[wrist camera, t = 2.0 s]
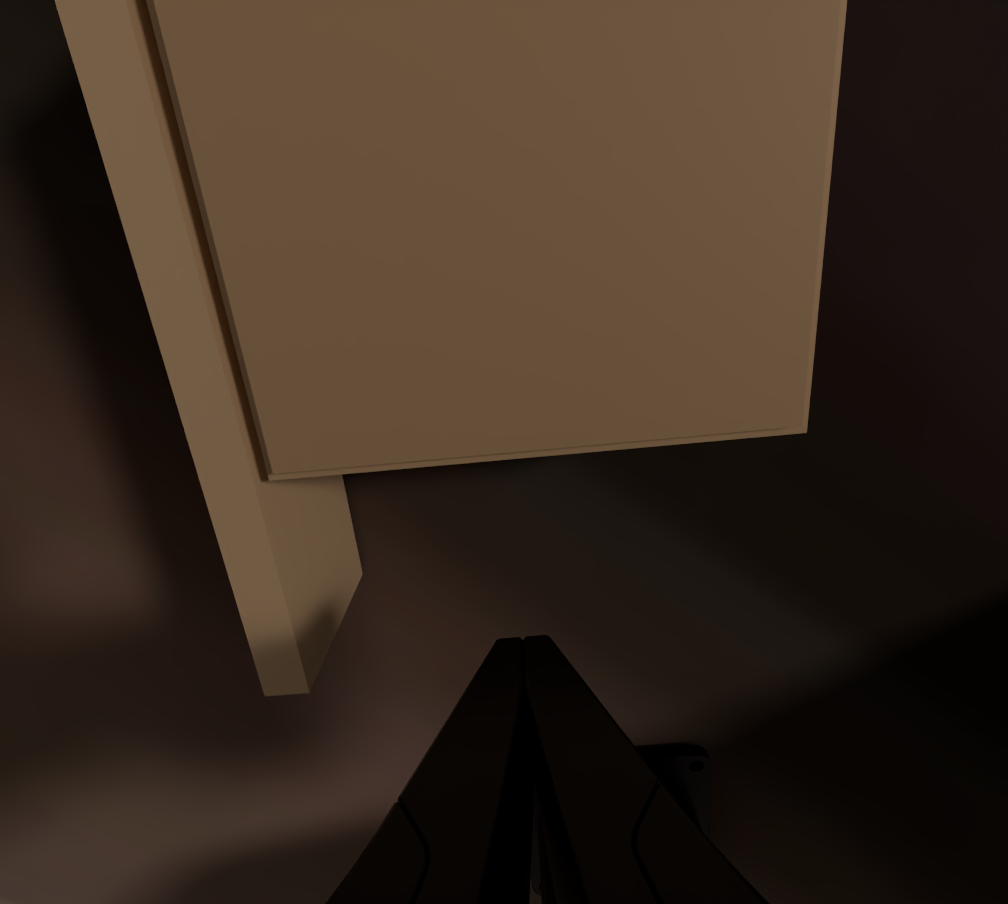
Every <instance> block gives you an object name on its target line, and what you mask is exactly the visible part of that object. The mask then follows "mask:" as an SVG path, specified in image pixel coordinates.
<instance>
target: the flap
mask: <svg viewBox="0 0 1008 904" xmlns="http://www.w3.org/2000/svg"><path fill="white" fill-rule="evenodd" d="M55 3H56V6H57V10H58V13H59V16H60V20H61V23H62V26H63V29H64V33H65V36H66V39H67V43H68V46H69V49H70V53H71V56H72V59H73V63H74V66H75V69H76V73H77V76H78V79H79V83H80V86H81V89H82V92H83V96H84V99H85V102H86V106H87V109H88V112H89V116H90V119H91V122H92V126H93V129H94V132H95V136H96V139H97V142H98V146H99V149H100V152H101V155H102V159H103V162H104V165H105V169H106V172H107V175H108V179H109V182H110V185H111V189H112V192H113V195H114V199H115V202H116V205H117V209H118V212H119V215H120V218H121V222H122V225H123V228H124V232H125V235H126V238H127V242H128V245H129V248H130V252H131V255H132V258H133V262H134V265H135V268H136V272H137V275H138V278H139V281H140V285H141V288H142V291H143V295H144V298H145V301H146V305H147V308H148V311H149V315H150V318H151V321H152V325H153V328H154V331H155V335H156V338H157V341H158V344H159V348H160V351H161V354H162V358H163V361H164V364H165V368H166V371H167V374H168V378H169V381H170V384H171V388H172V391H173V394H174V398H175V401H176V404H177V407H178V411H179V414H180V417H181V421H182V424H183V427H184V431H185V434H186V437H187V441H188V444H189V447H190V451H191V454H192V457H193V461H194V464H195V467H196V470H197V474H198V477H199V480H200V484H201V487H202V490H203V494H204V497H205V500H206V504H207V507H208V510H209V514H210V517H211V520H212V524H213V527H214V530H215V533H216V537H217V540H218V543H219V547H220V550H221V553H222V557H223V560H224V563H225V567H226V570H227V573H228V577H229V580H230V583H231V587H232V590H233V593H234V596H235V600H236V603H237V606H238V610H239V613H240V616H241V620H242V623H243V626H244V630H245V633H246V636H247V640H248V643H249V646H250V650H251V653H252V656H253V659H254V663H255V666H256V669H257V673H258V676H259V679H260V683H261V686H262V689H263V693H264V696H277V695H290V694H303V693H310V691H311V689H312V687H313V684H314V682H315V680H316V678H317V675H318V673H319V671H320V669H321V666H322V664H323V662H324V660H325V657H326V655H327V653H328V651H329V648H330V646H331V644H332V642H333V639H334V637H335V635H336V633H337V630H338V628H339V626H340V624H341V621H342V619H343V617H344V615H345V612H346V610H347V608H348V606H349V603H350V601H351V599H352V597H353V594H354V592H355V590H356V588H357V585H358V583H359V581H360V579H361V576H362V574H363V573H362V569H361V564H360V559H359V554H358V549H357V545H356V540H355V535H354V530H353V525H352V520H351V516H350V511H349V506H348V501H347V496H346V492H345V487H344V482H343V477H342V474H340V475H329V476H318V477H307V478H296V479H285V480H273V481H269V478H268V474H267V471H266V467H265V463H264V459H263V455H262V451H261V447H260V443H259V439H258V435H257V431H256V428H255V424H254V420H253V416H252V412H251V408H250V404H249V400H248V396H247V392H246V389H245V385H244V381H243V377H242V373H241V369H240V365H239V361H238V357H237V353H236V349H235V346H234V342H233V338H232V334H231V330H230V326H229V322H228V318H227V314H226V310H225V307H224V303H223V299H222V295H221V291H220V287H219V283H218V279H217V275H216V271H215V267H214V264H213V260H212V256H211V252H210V248H209V244H208V240H207V236H206V232H205V228H204V224H203V221H202V217H201V213H200V209H199V205H198V201H197V197H196V193H195V189H194V185H193V182H192V178H191V174H190V170H189V166H188V162H187V158H186V154H185V150H184V146H183V142H182V139H181V135H180V131H179V127H178V123H177V119H176V115H175V111H174V107H173V103H172V100H171V96H170V92H169V88H168V84H167V80H166V76H165V72H164V68H163V64H162V60H161V57H160V53H159V49H158V45H157V41H156V37H155V33H154V29H153V25H152V21H151V17H150V14H149V10H148V6H147V2H146V0H55Z"/></svg>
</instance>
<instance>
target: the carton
mask: <svg viewBox="0 0 1008 904" xmlns="http://www.w3.org/2000/svg"><path fill="white" fill-rule="evenodd" d="M146 2H147V6H148V10H149V14H150V17H151V21H152V25H153V29H154V33H155V37H156V41H157V45H158V49H159V53H160V57H161V60H162V64H163V68H164V72H165V76H166V80H167V84H168V88H169V92H170V96H171V100H172V103H173V107H174V111H175V115H176V119H177V123H178V127H179V131H180V135H181V139H182V142H183V146H184V150H185V154H186V158H187V162H188V166H189V170H190V174H191V178H192V182H193V185H194V189H195V193H196V197H197V201H198V205H199V209H200V213H201V217H202V221H203V224H204V228H205V232H206V236H207V240H208V244H209V248H210V252H211V256H212V260H213V264H214V267H215V271H216V275H217V279H218V283H219V287H220V291H221V295H222V299H223V303H224V307H225V310H226V314H227V318H228V322H229V326H230V330H231V334H232V338H233V342H234V346H235V349H236V353H237V357H238V361H239V365H240V369H241V373H242V377H243V381H244V385H245V389H246V392H247V396H248V400H249V404H250V408H251V412H252V416H253V420H254V424H255V428H256V431H257V435H258V439H259V443H260V447H261V451H262V455H263V459H264V463H265V467H266V471H267V474H268V478H269V481H273V480H285V479H296V478H307V477H318V476H329V475H340V474H352V473H363V472H374V471H385V470H396V469H407V468H419V467H430V466H441V465H452V464H463V463H474V462H485V461H497V460H508V459H519V458H530V457H541V456H552V455H564V454H575V453H586V452H597V451H608V450H619V449H631V448H642V447H653V446H664V445H675V444H686V443H698V442H709V441H720V440H731V439H742V438H753V437H764V436H776V435H787V434H798V433H807V424H808V414H809V403H810V392H811V382H812V371H813V360H814V349H815V339H816V328H817V317H818V306H819V296H820V285H821V274H822V264H823V253H824V242H825V231H826V221H827V210H828V199H829V188H830V178H831V167H832V156H833V146H834V135H835V124H836V113H837V103H838V92H839V81H840V70H841V60H842V49H843V38H844V28H845V17H846V6H847V0H146Z"/></svg>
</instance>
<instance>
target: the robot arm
mask: <svg viewBox="0 0 1008 904" xmlns="http://www.w3.org/2000/svg"><path fill="white" fill-rule="evenodd" d="M693 761H694V762H693ZM710 788H711V761H710V759H709V756H708V754H707V752H706V750H705V749H704V748H703V747H700V746H696V745H690V746H676V747H663V748H649V749H636V747H635V746H634V745H633V743H632V742H631V741H630V740H629V738H628V737H627V736H626V734H625V733H624V732H623V731H622V729H621V728H620V727H619V725H618V724H617V723H616V722H615V720H614V719H613V718H612V716H611V715H610V714H609V713H608V711H607V710H606V709H605V707H604V706H603V705H602V704H601V702H600V701H599V700H598V698H597V697H596V696H595V695H594V693H593V692H592V691H591V689H590V688H589V687H588V685H587V684H586V683H585V682H584V680H583V679H582V678H581V676H580V675H579V674H578V673H577V671H576V670H575V669H574V667H573V666H572V665H571V664H570V662H569V661H568V660H567V658H566V657H565V656H564V655H563V653H562V652H561V651H560V649H559V648H558V647H557V646H556V644H555V643H554V642H553V640H552V639H551V638H550V637H549V636H547V635H539V636H527V637H525V638H524V640H522V639H521V638H520V637H514V638H501V639H498V640H497V641H496V642H495V644H494V645H493V647H492V648H491V650H490V652H489V653H488V655H487V656H486V658H485V660H484V661H483V663H482V664H481V666H480V668H479V669H478V671H477V672H476V674H475V676H474V677H473V679H472V680H471V682H470V684H469V685H468V687H467V688H466V690H465V692H464V693H463V695H462V696H461V698H460V700H459V701H458V703H457V705H456V706H455V708H454V709H453V711H452V713H451V714H450V716H449V717H448V719H447V721H446V722H445V724H444V725H443V727H442V729H441V730H440V732H439V733H438V735H437V737H436V738H435V740H434V741H433V743H432V745H431V746H430V748H429V749H428V751H427V753H426V754H425V756H424V757H423V759H422V761H421V762H420V764H419V765H418V767H417V769H416V770H415V772H414V773H413V775H412V777H411V778H410V780H409V781H408V783H407V785H406V786H405V788H404V789H403V791H402V793H401V794H400V796H399V797H398V802H396V803H394V805H393V806H392V808H391V810H390V811H389V813H388V814H387V816H386V818H385V819H384V821H383V823H382V824H381V826H380V827H379V829H378V830H377V832H376V833H375V835H374V836H373V838H372V839H371V841H370V842H369V844H368V845H367V847H366V848H365V850H364V851H363V853H362V854H361V856H360V857H359V859H358V860H357V862H356V863H355V865H354V866H353V867H352V869H351V870H350V871H349V873H348V874H347V875H346V877H345V878H344V880H343V881H342V882H341V884H340V885H339V886H338V888H337V889H336V890H335V892H334V893H333V894H332V896H331V897H330V898H329V900H328V901H327V902H326V904H529V895H530V874H531V879H532V888H533V890H534V892H535V893H537V894H539V895H541V897H542V904H769V903H768V902H767V901H766V900H765V899H764V898H763V897H762V896H761V895H760V894H759V893H758V891H757V890H756V889H755V888H754V887H753V886H752V885H751V884H750V883H749V882H748V881H747V880H746V879H745V878H744V877H743V876H742V875H741V874H740V873H739V872H738V870H737V869H736V868H735V867H734V866H733V865H732V864H731V863H730V862H729V861H728V860H727V859H726V857H725V856H724V855H723V854H722V853H721V852H720V851H719V850H718V849H717V848H716V847H715V846H714V845H713V843H712V842H711V841H710V840H709V839H708V836H709V812H710Z"/></svg>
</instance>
